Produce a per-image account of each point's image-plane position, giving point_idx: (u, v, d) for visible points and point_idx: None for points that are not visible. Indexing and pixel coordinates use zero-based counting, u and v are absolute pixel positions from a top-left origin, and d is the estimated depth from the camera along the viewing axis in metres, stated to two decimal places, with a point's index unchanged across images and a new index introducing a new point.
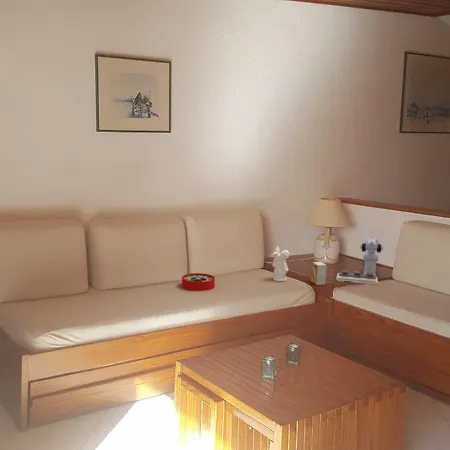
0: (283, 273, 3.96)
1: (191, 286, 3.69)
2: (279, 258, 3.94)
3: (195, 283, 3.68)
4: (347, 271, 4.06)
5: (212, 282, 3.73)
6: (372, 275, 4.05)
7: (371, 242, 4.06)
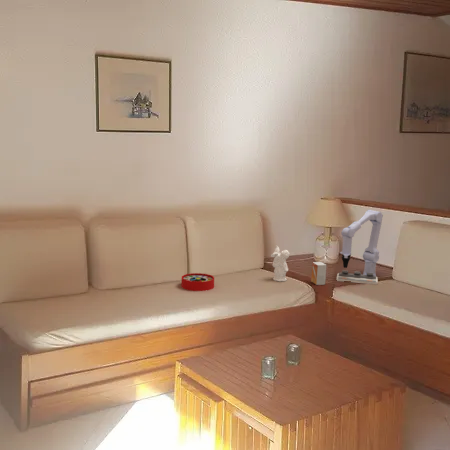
0: (283, 273, 3.96)
1: (191, 286, 3.69)
2: (279, 258, 3.94)
3: (194, 283, 3.68)
4: (347, 271, 4.06)
5: (211, 282, 3.73)
6: (372, 275, 4.05)
7: None
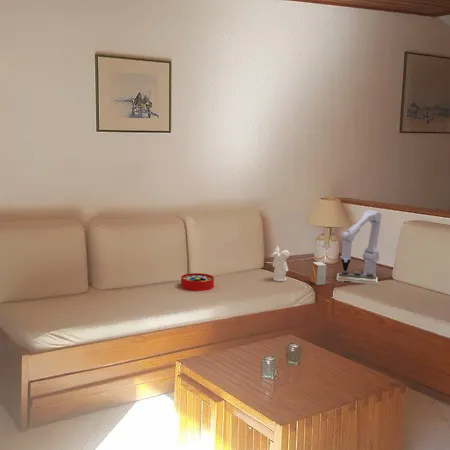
0: (283, 273, 3.96)
1: (190, 286, 3.69)
2: (279, 258, 3.94)
3: (194, 283, 3.68)
4: (347, 271, 4.06)
5: (211, 282, 3.73)
6: (372, 275, 4.05)
7: None
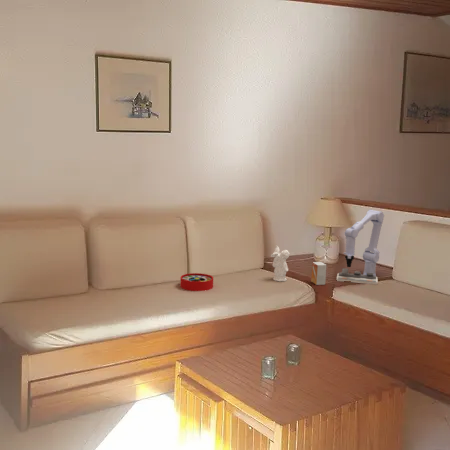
0: (283, 273, 3.96)
1: (189, 286, 3.69)
2: (279, 258, 3.94)
3: (193, 283, 3.68)
4: (347, 273, 4.06)
5: (210, 282, 3.73)
6: (372, 275, 4.05)
7: None
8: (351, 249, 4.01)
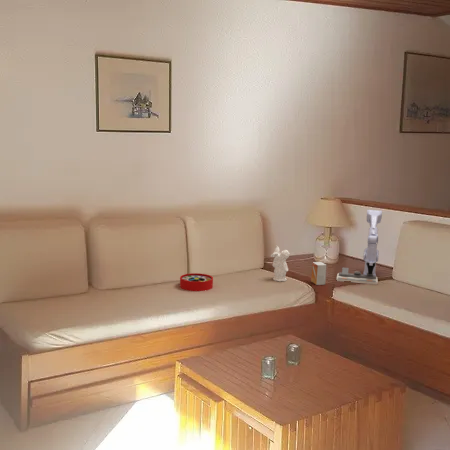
0: (283, 273, 3.96)
1: (189, 286, 3.68)
2: (279, 258, 3.94)
3: (193, 283, 3.68)
4: (347, 274, 4.06)
5: (210, 282, 3.72)
6: (372, 275, 4.05)
7: None
8: (373, 256, 3.98)
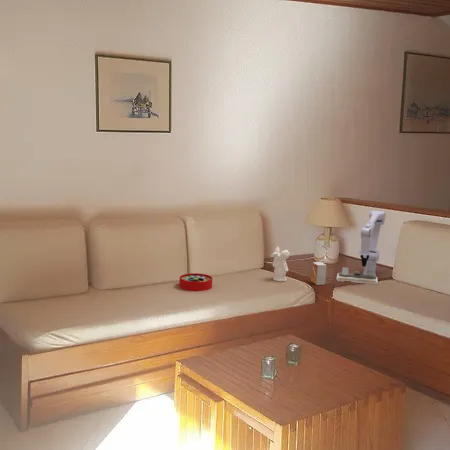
0: (283, 273, 3.96)
1: (188, 286, 3.68)
2: (279, 258, 3.94)
3: (192, 283, 3.67)
4: (347, 275, 4.06)
5: (209, 282, 3.72)
6: None
7: None
8: (366, 248, 4.01)
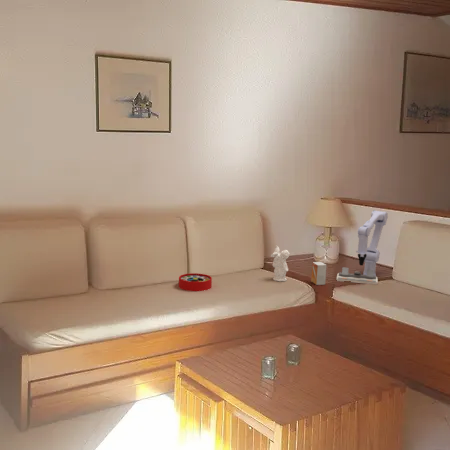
0: (283, 273, 3.96)
1: (187, 286, 3.68)
2: (279, 258, 3.94)
3: (191, 283, 3.67)
4: (347, 275, 4.06)
5: (209, 282, 3.72)
6: None
7: None
8: (364, 247, 4.02)
